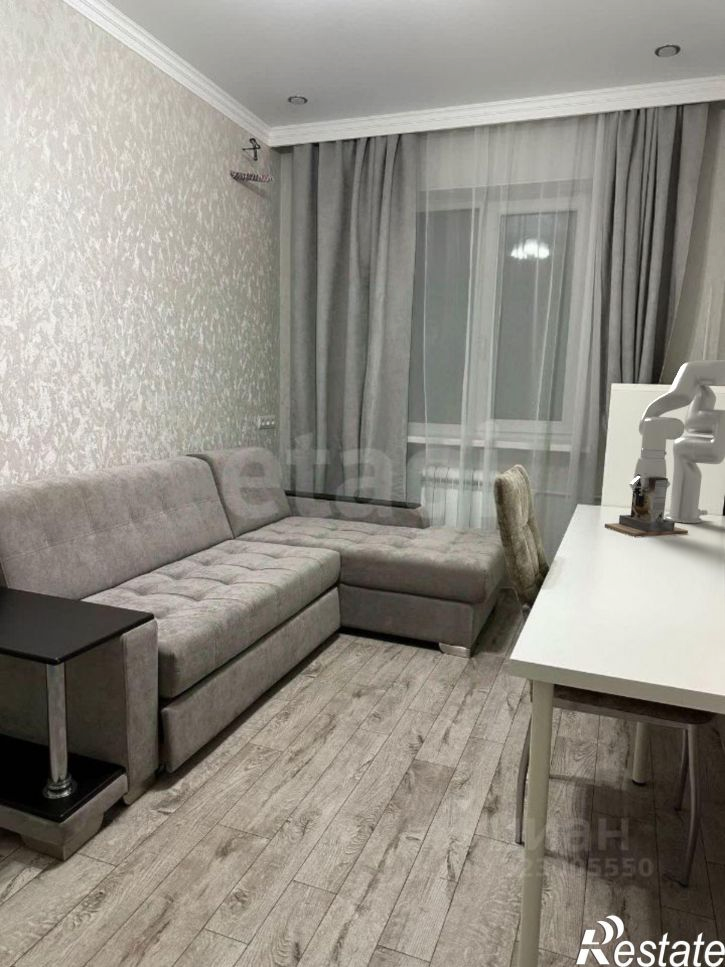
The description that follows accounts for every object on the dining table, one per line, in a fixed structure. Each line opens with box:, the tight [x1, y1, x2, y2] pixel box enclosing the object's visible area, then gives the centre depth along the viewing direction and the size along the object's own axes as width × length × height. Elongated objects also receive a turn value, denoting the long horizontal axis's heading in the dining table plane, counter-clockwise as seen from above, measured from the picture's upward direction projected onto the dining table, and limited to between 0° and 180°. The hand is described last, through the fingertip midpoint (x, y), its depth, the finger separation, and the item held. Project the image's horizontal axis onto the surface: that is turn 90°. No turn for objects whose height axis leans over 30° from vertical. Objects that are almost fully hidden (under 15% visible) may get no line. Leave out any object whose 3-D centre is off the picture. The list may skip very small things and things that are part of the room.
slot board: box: [604, 514, 689, 538], centre depth 225 cm, size 22×15×4 cm
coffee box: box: [630, 477, 669, 523], centre depth 224 cm, size 9×6×16 cm
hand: (648, 506), depth 224 cm, fingers closed on coffee box, 6 cm apart
